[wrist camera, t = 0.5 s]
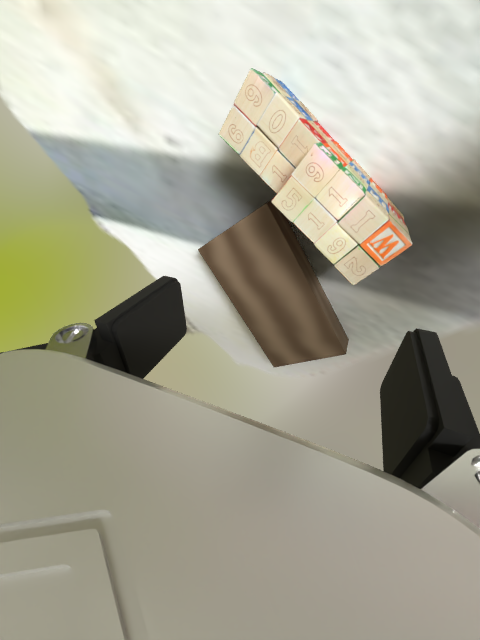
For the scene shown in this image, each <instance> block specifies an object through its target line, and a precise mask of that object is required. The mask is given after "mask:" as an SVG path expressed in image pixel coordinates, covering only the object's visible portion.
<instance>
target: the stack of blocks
mask: <svg viewBox="0 0 480 640" xmlns="http://www.w3.org/2000/svg"><path fill="white" fill-rule="evenodd" d="M219 135H220V137H221V138H222V139H223V140H224V141H225V142H226V143H227V144H228V145H229V146H230V147H231V148H232V149H233V150H234V151H236V152H237V153H238V154H239V155H240V157H241V158H242V159H243V160H244V161H245V162H246V163H247V164H248V165H249V166H250V167H251V168H252V169H253V170H254V171H255V172H256V173H257V174H258V175H259V176H260V177H261V179H262V180H263V181H264V182H265V183H266V184H267V185H268V186H269V187H271V188H272V189H273V190H274V191H275V192H276V193H277V195H276V196H275V197H274V198H273V200H272V201H271V202H272V203H273V204H274V205H275V206H276V207H277V208H278V209H279V210H280V211H281V212H282V213H283V214H284V215H285V216H286V217H287V218H288V219H289V220H290V221H291V222H293V223H294V224H295V225H296V226H297V227H298V228H299V229H300V230H301V231H302V232H303V233H304V234H305V235H306V236H307V237H308V238H309V239H310V240H311V241H312V242H313V243H314V245H315V246H316V247H317V249H318V250H319V251H320V252H321V253H322V254H323V255H324V256H325V257H326V258H327V259H328V260H329V261H330V262H331V263H333V264H334V266H335V267H336V268H337V269H338V270H339V271H340V273H341V274H342V275H343V276H344V277H345V278H346V279H347V280H348V281H349V282H350V283H351V284H352V285H355V284H357V283H358V282H359V281H361V280H362V279H364V278H365V277H367V276H368V275H370V274H371V273H373V272H374V271H376V270H377V269H379V266H382V265H384V264H386V263H387V262H389V261H390V260H392V259H393V258H395V257H396V256H397V255H399V254H400V253H402V252H403V251H405V250H406V249H407V248H409V247H410V246H411V245H412V241H411V238H410V236H409V232H408V228H407V226H406V225H405V222H404V217H403V214H402V213H401V212H400V211H399V210H398V209H397V208H396V206H395V205H394V204H393V203H392V202H391V201H390V200H389V199H388V197H387V195H386V194H385V193H384V192H383V191H382V190H381V188H380V187H379V186H378V185H377V184H376V183H375V182H374V181H373V180H372V179H371V178H370V176H369V175H368V174H367V173H366V172H365V171H364V169H363V168H362V167H361V166H360V165H359V164H358V163H357V162H356V161H355V160H354V159H352V158H351V157H350V156H349V155H348V154H347V153H346V152H345V151H344V149H343V148H342V147H341V146H340V145H339V144H338V143H337V142H336V141H334V140H333V138H332V137H331V136H330V135H329V134H328V133H327V132H326V131H325V130H324V128H323V127H322V126H321V125H320V124H319V123H318V120H317V119H316V118H315V117H314V115H313V114H312V113H311V112H310V111H309V110H308V109H307V108H306V107H305V106H304V104H303V103H302V102H301V101H299V100H298V99H297V98H296V96H295V95H294V94H293V93H292V92H291V91H290V90H289V89H288V88H287V87H286V86H285V85H284V84H283V83H282V82H281V81H279V80H277V79H275V78H274V77H272V76H270V75H268V74H266V73H263V74H262V73H261V72H259V71H257V70H255V69H253V68H251V69H250V71H249V73H248V75H247V77H246V79H245V81H244V83H243V85H242V87H241V89H240V91H239V93H238V95H237V97H236V99H235V101H234V105H233V107H232V108H231V110H230V112H229V114H228V116H227V118H226V120H225V122H224V124H223V126H222V128H221V130H220V132H219Z"/></svg>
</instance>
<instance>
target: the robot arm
mask: <svg viewBox="0 0 480 640" xmlns="http://www.w3.org/2000/svg"><path fill="white" fill-rule="evenodd" d="M95 323H96V326H97V328H96V329H93V327H92V326H91V325H89V324H86V323H76V324H71V325H68V326H65V327H63V328H61V329H59V330H58V331H57V332H55V333H54V334H53V335H52V337H51V338H50V341H49V343H46V344H42V345H36V346H32V347H27V348H22V349H17V350H13V351H8V352H1V353H0V640H480V434H479V431H478V428H477V426H476V423H475V421H474V418H473V415H472V413H471V410H470V407H469V405H468V402H467V400H466V397H465V394H464V391H463V389H462V386H461V384H460V381H459V380H458V378H456V377H455V376H452V375H451V372H450V369H449V366H448V363H447V361H446V358H445V355H444V352H443V349H442V346H441V344H440V341H439V338H438V335H437V333H435V332H431V331H426V330H421V329H415V330H414V331H413V332H411V331H408V332H407V333H406V335H405V337H404V339H403V341H402V343H401V345H400V347H399V349H398V351H397V353H396V355H395V358H394V360H393V362H392V364H391V366H390V368H389V370H388V372H387V374H386V376H385V378H384V380H383V382H382V385H381V389H380V399H381V422H382V445H383V467H384V471H381V470H379V469H377V468H374V467H372V466H370V465H368V464H365V463H363V462H360V461H358V460H355V459H352V458H350V457H348V456H345V455H342V454H340V453H337V452H335V451H332V450H330V449H327V448H325V447H322V446H320V445H317V444H315V443H312V442H310V441H307V440H304V439H301V438H299V437H296V436H294V435H291V434H288V433H286V432H283V431H281V430H278V429H275V428H272V427H270V426H267V425H265V424H262V423H259V422H257V421H254V420H252V419H249V418H246V417H244V416H241V415H238V414H236V413H233V412H230V411H228V410H225V409H222V408H220V407H217V406H214V405H212V404H209V403H206V402H204V401H201V400H198V399H196V398H193V397H190V396H187V395H185V394H182V393H179V392H177V391H174V390H171V389H169V388H166V387H163V386H160V385H157V384H155V383H152V382H149V381H147V380H144V379H143V378H144V377H145V376H146V375H147V374H148V373H149V372H150V371H151V370H152V369H153V368H154V367H155V366H156V365H157V364H158V363H159V362H160V360H161V359H163V357H164V356H165V355H166V354H167V353H168V352H169V351H170V350H171V349H172V348H173V347H174V346H175V345H176V344H177V343H178V342H179V341H180V340H181V339H182V337H184V335H185V334H186V330H187V327H186V320H185V313H184V306H183V299H182V292H181V285H180V283H179V282H178V281H177V279H176V278H172V277H168V276H162V277H161V278H159V279H158V280H156V281H155V282H153V283H152V284H150V285H148V286H147V287H145V288H144V289H142V290H141V291H139V292H138V293H136V294H135V295H133V296H131V297H130V298H128V299H127V300H125V301H124V302H122V303H121V304H119V305H118V306H116V307H115V308H113V309H111V310H110V311H108V312H107V313H105V314H104V315H102V316H101V317H99V318H97V319H96V320H95Z"/></svg>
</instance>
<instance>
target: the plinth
mask: <svg viewBox="0 0 480 640" xmlns="http://www.w3.org/2000/svg"><path fill="white" fill-rule="evenodd" d="M271 201H272V200H271ZM271 201H269V202H267V203H266V204H264V205H263V206H261V207H260V208H258V209H257V210H255V211H254V212H253V213H251V214H250V215H248V216H247V217H245V218H244V219H242V220H241V221H239V222H238V223H236V224H235V225H233V226H232V227H230V228H229V229H227V230H226V231H224V232H223V233H222V234H220V235H219V236H217V237H216V238H214V239H213V240H211V241H210V242H208V243H207V244H205V245H204V246H202V247H201V248H199V249H198V251H199V252H200V254H201V255H202V257H203V258H204V260H205V261H206V263H207V264H208V266H209V268H210V269H211V271H212V272H213V274H214V275H215V277H216V278H217V280H218V281H219V283H220V285H221V286H222V288H223V289H224V291H225V292H226V294H227V295H228V297H229V298H230V300H231V302H232V303H233V305H234V306H235V308H236V309H237V311H238V312H239V314H240V315H241V317H242V319H243V320H244V322H245V323H246V325H247V326H248V328H249V329H250V331H251V332H252V334H253V336H254V337H255V339H256V340H257V342H258V343H259V345H260V346H261V348H262V349H263V351H264V353H265V354H266V356H267V357H268V359H269V360H270V362H271V363H272V365H273V366H274V367H279V366H284V365H290V364H295V363H300V362H306V361H311V360H317V359H322V358H328V357H333V356H339V355H344V354H346V351H347V345H348V337H347V336H346V334H345V332H344V330H343V328H342V326H341V324H340V322H339V320H338V318H337V316H336V314H335V312H334V310H333V308H332V306H331V304H330V302H329V300H328V298H327V297H326V295H325V293H324V291H323V289H322V287H321V285H320V283H319V281H318V279H317V277H316V275H315V273H314V271H313V269H312V267H311V265H310V263H309V261H308V259H307V257H306V256H305V254H304V252H303V250H302V248H301V246H300V244H299V242H298V240H297V238H296V236H295V234H294V232H293V230H292V228H291V226H290V224H289V222H288V220H287V218H286V216H285V215H284V214H283V213H282V212H281V211H280V210H279V209H278V208H277V207H276V206H275V205H274V204H273V203H272V202H271Z"/></svg>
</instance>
